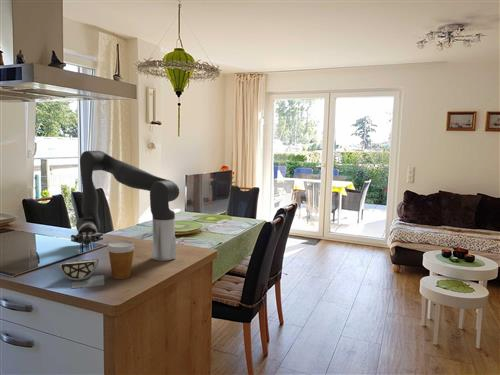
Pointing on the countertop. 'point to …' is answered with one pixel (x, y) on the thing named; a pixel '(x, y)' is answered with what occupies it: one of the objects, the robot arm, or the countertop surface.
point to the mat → (89, 282)
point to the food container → (79, 269)
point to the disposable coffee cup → (121, 258)
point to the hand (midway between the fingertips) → (86, 242)
